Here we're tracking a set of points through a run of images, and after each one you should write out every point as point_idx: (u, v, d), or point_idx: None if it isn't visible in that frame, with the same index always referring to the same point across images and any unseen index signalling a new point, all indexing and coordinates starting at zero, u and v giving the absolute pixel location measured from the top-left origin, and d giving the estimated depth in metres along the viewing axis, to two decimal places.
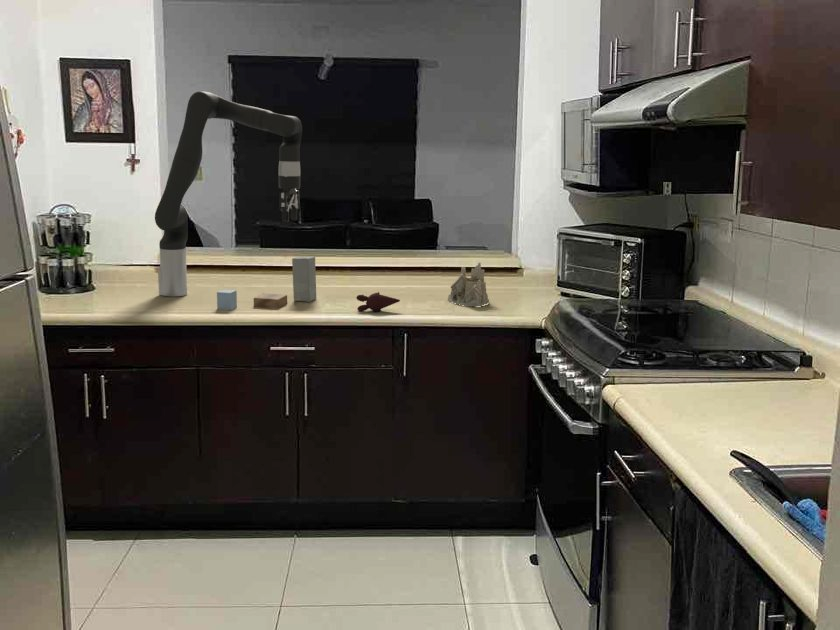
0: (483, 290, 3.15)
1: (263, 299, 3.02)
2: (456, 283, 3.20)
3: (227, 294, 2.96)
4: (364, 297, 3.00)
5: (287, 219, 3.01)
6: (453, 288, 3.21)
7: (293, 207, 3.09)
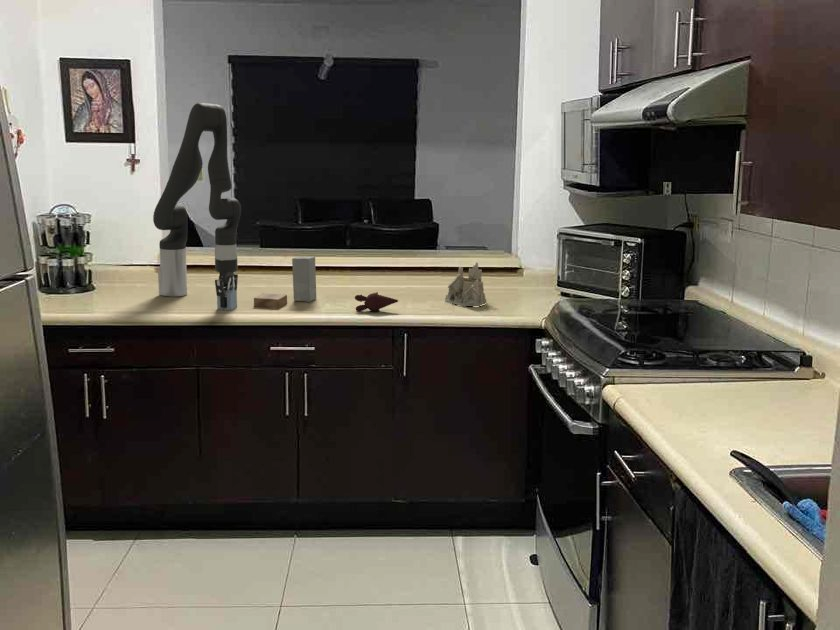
0: (481, 290, 3.14)
1: (263, 299, 3.02)
2: (453, 283, 3.20)
3: (227, 294, 2.96)
4: (362, 297, 3.00)
5: (225, 305, 2.96)
6: (450, 288, 3.20)
7: None
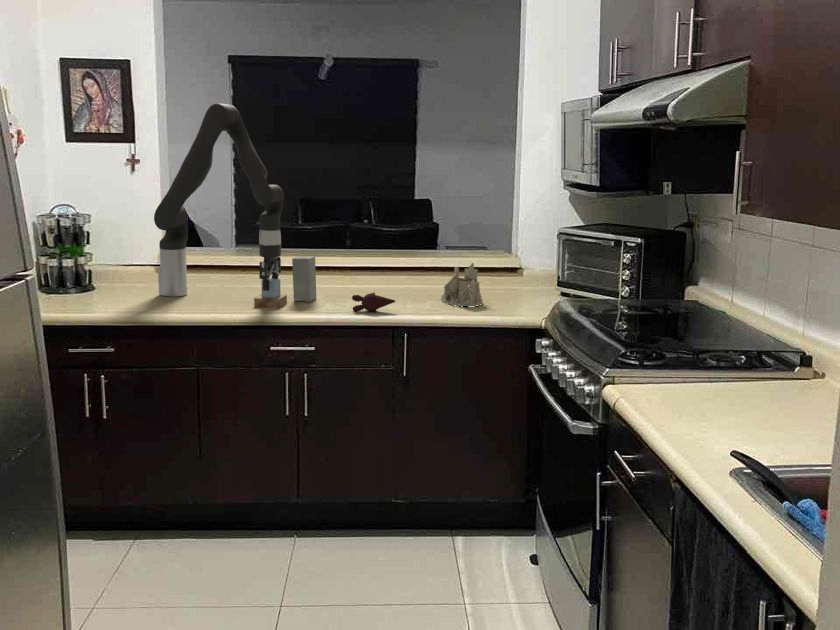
0: (477, 290, 3.14)
1: (264, 299, 3.02)
2: (449, 283, 3.19)
3: (271, 282, 3.03)
4: (359, 297, 3.00)
5: (267, 288, 3.01)
6: (446, 288, 3.20)
7: (274, 274, 3.09)
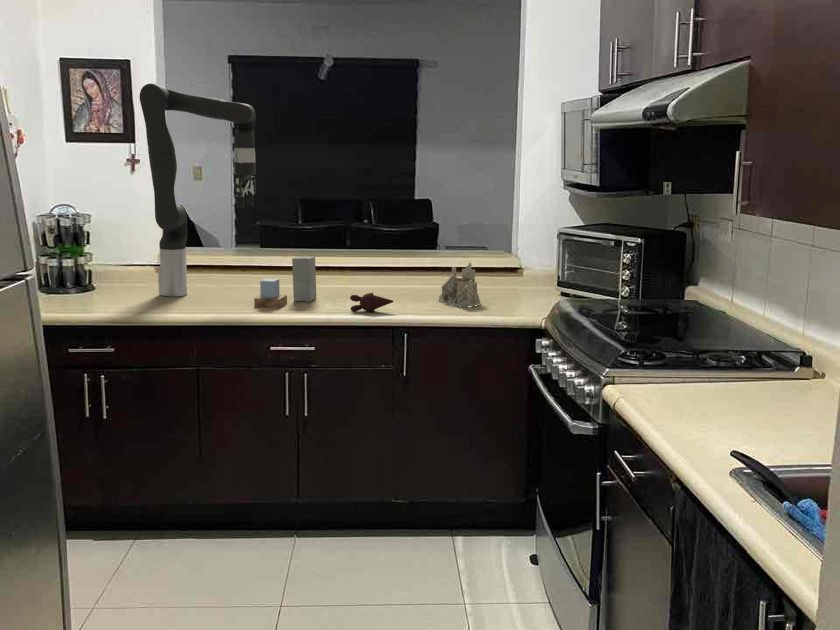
0: (475, 290, 3.14)
1: (264, 299, 3.02)
2: (447, 283, 3.19)
3: (270, 283, 3.02)
4: (357, 297, 3.00)
5: (242, 204, 3.10)
6: (444, 288, 3.19)
7: (249, 193, 3.17)
